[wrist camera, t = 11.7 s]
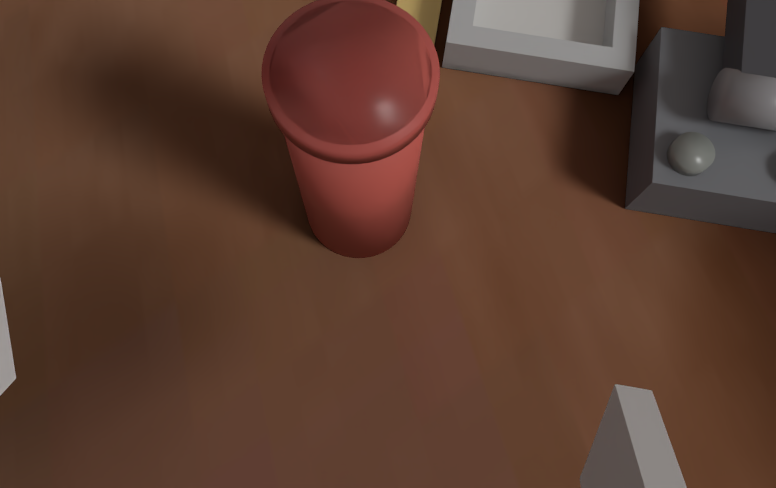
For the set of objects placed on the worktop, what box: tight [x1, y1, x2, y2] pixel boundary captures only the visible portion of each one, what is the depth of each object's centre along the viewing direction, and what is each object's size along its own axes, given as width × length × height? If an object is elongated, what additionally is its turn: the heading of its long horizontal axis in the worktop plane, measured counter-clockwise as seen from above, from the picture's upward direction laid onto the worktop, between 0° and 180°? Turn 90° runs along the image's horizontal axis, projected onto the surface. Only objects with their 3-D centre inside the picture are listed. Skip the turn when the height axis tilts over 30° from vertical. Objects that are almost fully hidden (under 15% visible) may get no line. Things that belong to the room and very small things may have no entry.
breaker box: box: [625, 27, 776, 233], centre depth 28 cm, size 7×7×4 cm
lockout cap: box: [262, 0, 440, 258], centre depth 24 cm, size 5×5×11 cm
